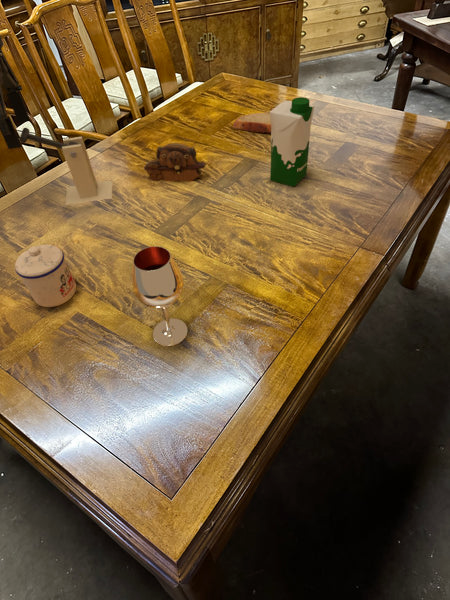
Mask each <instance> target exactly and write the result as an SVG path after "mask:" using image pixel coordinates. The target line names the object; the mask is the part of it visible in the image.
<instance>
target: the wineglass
mask: <svg viewBox="0 0 450 600" xmlns="http://www.w3.org/2000/svg"><path fill="white" fill-rule="evenodd" d="M131 273H132V275H131V276H132V278H131V281H132V290H133V294H134V296H135V298H137V300H138V301H139V302H140V303H141V304H143V305H144V306H146V307H149V308H152V309H162V314H163V317H164V320H161V321H160V322H158V323H157V324H156V325H155V327H154V328H153V329H152V338H153V340H154V341H155V342H156V343H157V344H158V345H160V346H163V347H174V346H178V345H179V344H180V343H182V342H184V340H185V339H186V337H187V335H188V326H187V324H186V323H185V322H184V321H183V320H181V319H178V318H170V316H169V311H168V307H169V306H171V305H173V304H175V302H177V301H178V299H179V298H180V297H181V296H182V294H183V291H184V287H185V286H184V285H185V280H184V276H183V273H182V271H181V270H180V267H179V265H178V264H177V261H176V260H175V258H174V257H173V255H172V254H171V251H169V250H168V249H167V248H166V247H163V246H160V245H159V246H157V245H151V246H147V247H144V248H142V249H140V250H139V251H137V252H136V253H135V254H134V256H133V259H132V272H131Z"/></svg>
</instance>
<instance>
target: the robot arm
mask: <svg viewBox="0 0 450 600" xmlns="http://www.w3.org/2000/svg"><path fill="white" fill-rule="evenodd" d="M3 47H4V41H3V39H2V36H1V35H0V133H1V135H2V137H3V139H4V142H5V144H6V146H7V149H8V150H12V149H13V150H14V149H21V148H22V147H23V146H22V142H21V141H20V137H19V136H18V134H17V131H16V129H15V126H14V124H13V121H12V119H11V116H9V115H8V113H7V108H6V103H5V98H4V93H3V89H2V87H3V88H4V89H5V91H6V92H7V93H6V96H7V98H8V99H7V100H8V101H9V103H10V106H11V108H12V110H13V113H14V116H15V118H16V120H17V123H27V122H31V118H30V116H29V112H28V111H27V108H26V104H25V102H24V100H23V97H22V95H21V93H20V92H21V91H23V87H22V85H21V84H20V81H19V80H18V78H17V76H16V74H15V72H14V70H13V69H12V67H11V65H10V63H9V61H8V60H7V58H6V56H5V54H4V51H3V49H2V48H3Z"/></svg>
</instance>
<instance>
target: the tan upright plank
mask: <svg viewBox="0 0 450 600" xmlns="http://www.w3.org/2000/svg"><path fill="white" fill-rule="evenodd" d="M69 142H74V143H77V144H78V145H71V146H64V147H62V149H61V150H62V153H63V155H64V158H65V162H66V164H67V166H68V169H69V172H70V175H71V178H72V181H73V182H74V185H70V186H67V188H66V194H65V201H64V206H69V205H75V204H76V205H77V204H82V203H89V202H95V201H96V202H97V201H102V200H109V199H113V179H110V180H104V181H97V179H96V175H95V172H94V170H93V169H94V168H93V167H92V164H91V160H90V156H89V154H88V151H87V147H86V144H85V142H84V139H83V136H76V137H70V138H63V143H64V144H67V145H69Z"/></svg>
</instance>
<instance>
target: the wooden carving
mask: <svg viewBox="0 0 450 600" xmlns="http://www.w3.org/2000/svg"><path fill="white" fill-rule="evenodd" d="M155 156H156V159H151V160H149V161H148V162H146V163H145V165H144V167H143V170H144V171H145V172H146V173H147V174H148V175H149V177H150V180H152V181H159V180H161V179H162V180H163V181H165V182H192V181H194V180H196V179H197V178H199V177H200V176H201V174H202V173H203V172H202V169H204V168H205V167H206V165H207V162H206V161H203V160H202V161H201V160H200V161H198V159H197V150H196V149H195V147H194V146H188V145H186V144H183V143H178V142H174V143H168V144H165V145H163V146H161V145H159V146H157V148H156V153H155ZM200 169H201V170H200Z"/></svg>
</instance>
